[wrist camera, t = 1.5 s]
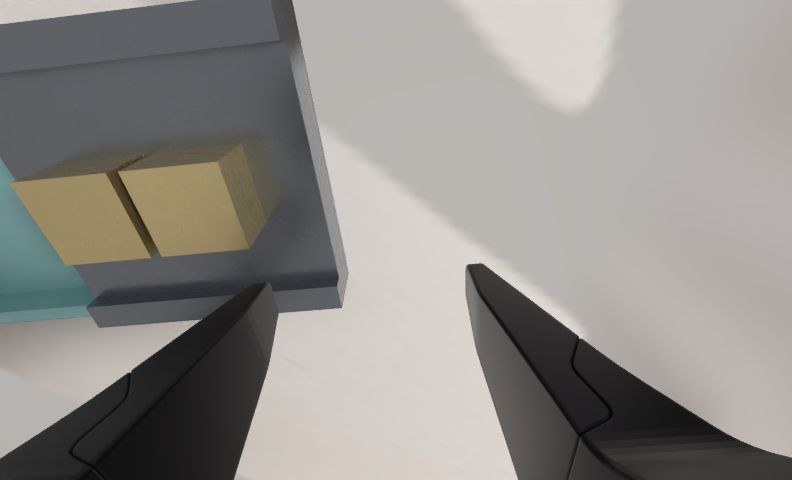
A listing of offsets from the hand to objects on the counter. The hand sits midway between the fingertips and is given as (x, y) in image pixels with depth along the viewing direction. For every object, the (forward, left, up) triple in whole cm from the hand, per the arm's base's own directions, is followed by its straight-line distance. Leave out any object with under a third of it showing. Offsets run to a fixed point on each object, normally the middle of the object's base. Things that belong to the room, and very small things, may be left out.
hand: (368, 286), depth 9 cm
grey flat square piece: (0, +10, -11) cm, 15 cm away
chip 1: (0, +12, -8) cm, 15 cm away
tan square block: (0, +8, -8) cm, 12 cm away
